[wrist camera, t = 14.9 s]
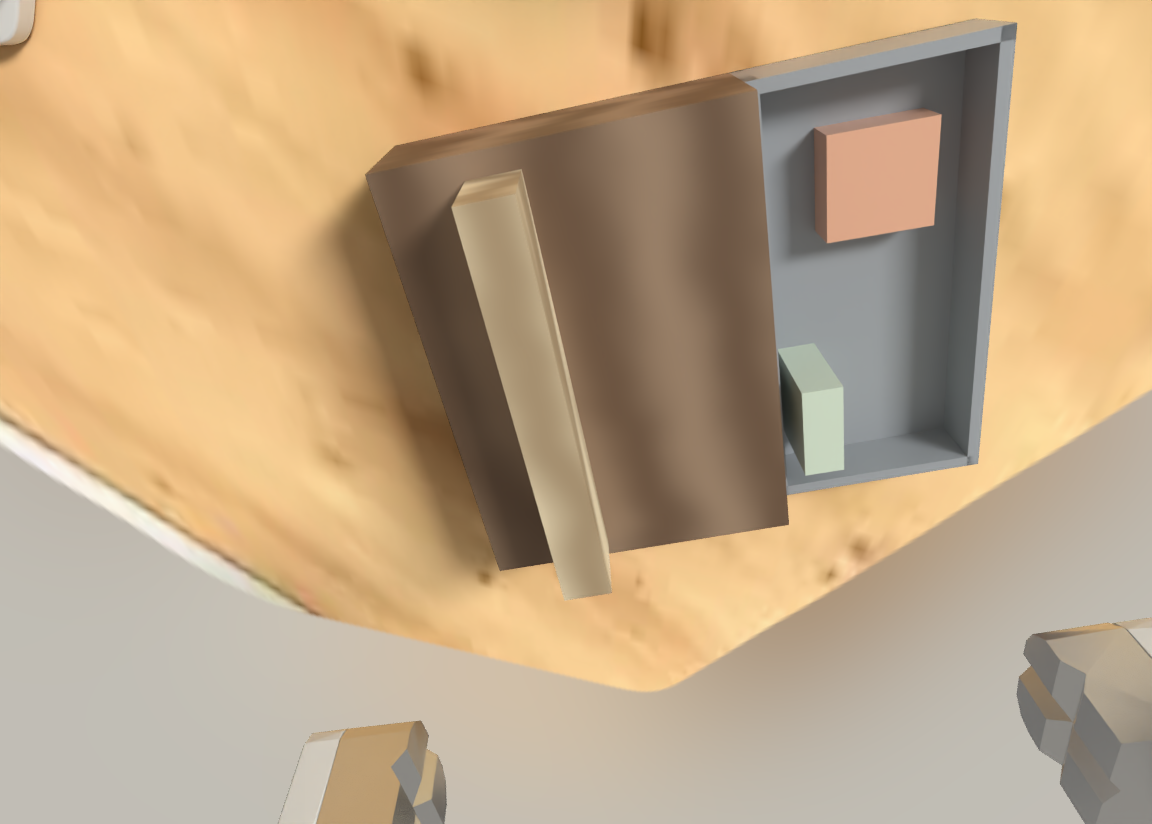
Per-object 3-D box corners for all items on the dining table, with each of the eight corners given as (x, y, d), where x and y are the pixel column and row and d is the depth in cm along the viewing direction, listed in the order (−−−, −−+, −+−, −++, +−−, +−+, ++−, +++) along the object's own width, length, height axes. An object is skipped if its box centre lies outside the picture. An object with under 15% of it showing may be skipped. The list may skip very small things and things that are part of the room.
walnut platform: (507, 504, 46) (499, 570, 41) (395, 145, 35) (365, 174, 30) (763, 461, 45) (789, 524, 40) (728, 72, 34) (757, 89, 29)
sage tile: (805, 475, 39) (844, 469, 38) (801, 393, 36) (843, 386, 36) (781, 425, 43) (816, 419, 43) (777, 349, 40) (813, 342, 40)
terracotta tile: (933, 225, 35) (916, 213, 37) (941, 114, 32) (923, 107, 34) (827, 243, 35) (815, 231, 37) (826, 135, 33) (813, 127, 35)
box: (763, 461, 45) (777, 496, 42) (728, 72, 34) (744, 81, 31) (949, 430, 44) (977, 463, 41) (976, 18, 33) (1017, 22, 30)
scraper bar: (564, 547, 40) (564, 600, 37) (464, 181, 30) (451, 207, 27) (608, 540, 40) (611, 593, 37) (521, 169, 30) (515, 194, 27)
